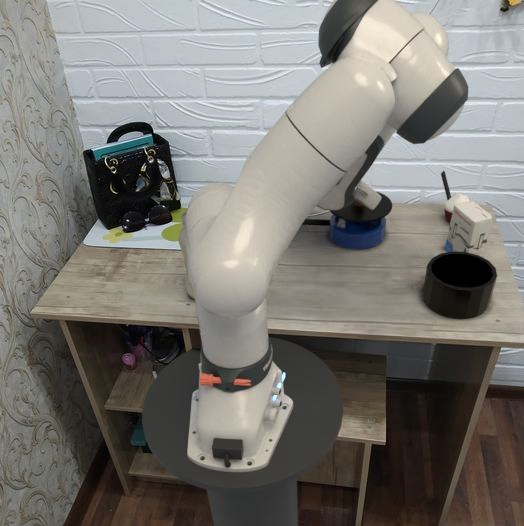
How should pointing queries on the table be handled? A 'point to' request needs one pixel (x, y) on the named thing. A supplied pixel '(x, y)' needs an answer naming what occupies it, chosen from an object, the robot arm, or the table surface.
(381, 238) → the pan
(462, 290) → the pot
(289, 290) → the table surface
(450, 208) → the cocoa
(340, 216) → the lid
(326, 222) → the pan handle
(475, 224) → the ink box
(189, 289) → the plastic bottle
